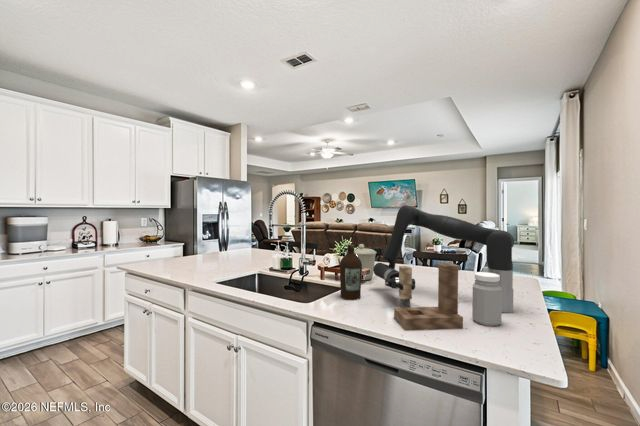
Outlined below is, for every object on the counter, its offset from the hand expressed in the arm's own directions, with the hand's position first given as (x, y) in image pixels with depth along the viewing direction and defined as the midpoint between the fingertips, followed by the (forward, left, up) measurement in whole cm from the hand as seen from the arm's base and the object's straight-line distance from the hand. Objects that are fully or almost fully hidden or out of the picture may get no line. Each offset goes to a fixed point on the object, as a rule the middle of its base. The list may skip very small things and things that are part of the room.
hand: (407, 287), depth 126 cm
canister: (+35, -50, -10) cm, 62 cm away
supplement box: (-35, -50, -10) cm, 62 cm away
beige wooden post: (+1, -2, -10) cm, 10 cm away
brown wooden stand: (-9, +9, -10) cm, 16 cm away
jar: (-29, -1, -10) cm, 30 cm away
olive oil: (+28, -10, -10) cm, 32 cm away
